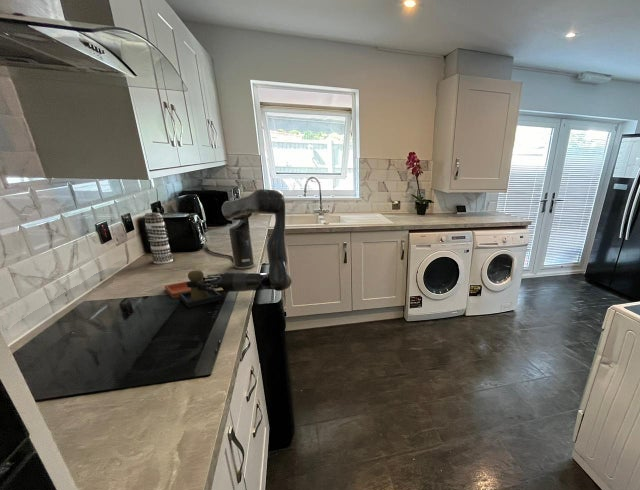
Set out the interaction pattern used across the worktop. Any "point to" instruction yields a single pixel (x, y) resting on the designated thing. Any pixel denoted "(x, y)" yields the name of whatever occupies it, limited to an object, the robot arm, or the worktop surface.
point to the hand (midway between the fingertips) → (190, 282)
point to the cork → (195, 292)
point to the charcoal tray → (190, 303)
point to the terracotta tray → (177, 289)
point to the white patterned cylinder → (158, 238)
